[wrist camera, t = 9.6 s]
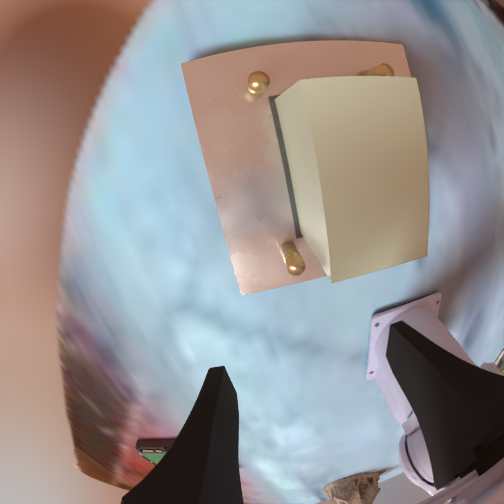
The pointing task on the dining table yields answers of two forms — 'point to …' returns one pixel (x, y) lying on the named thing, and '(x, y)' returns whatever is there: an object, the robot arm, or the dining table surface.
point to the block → (358, 170)
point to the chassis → (267, 146)
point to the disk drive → (153, 449)
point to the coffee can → (500, 362)
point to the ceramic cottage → (353, 489)
